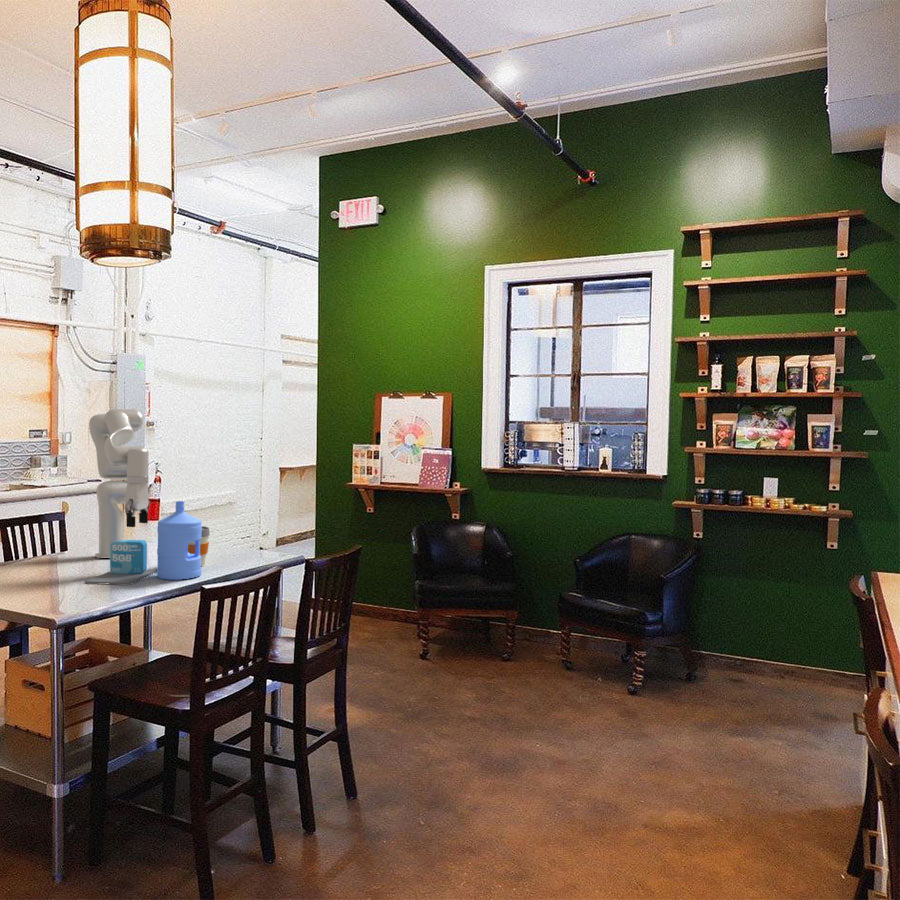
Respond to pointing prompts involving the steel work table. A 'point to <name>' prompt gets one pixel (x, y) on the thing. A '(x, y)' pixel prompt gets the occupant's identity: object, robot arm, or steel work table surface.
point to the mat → (120, 577)
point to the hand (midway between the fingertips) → (137, 524)
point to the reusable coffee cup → (201, 545)
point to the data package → (128, 556)
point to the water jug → (178, 545)
